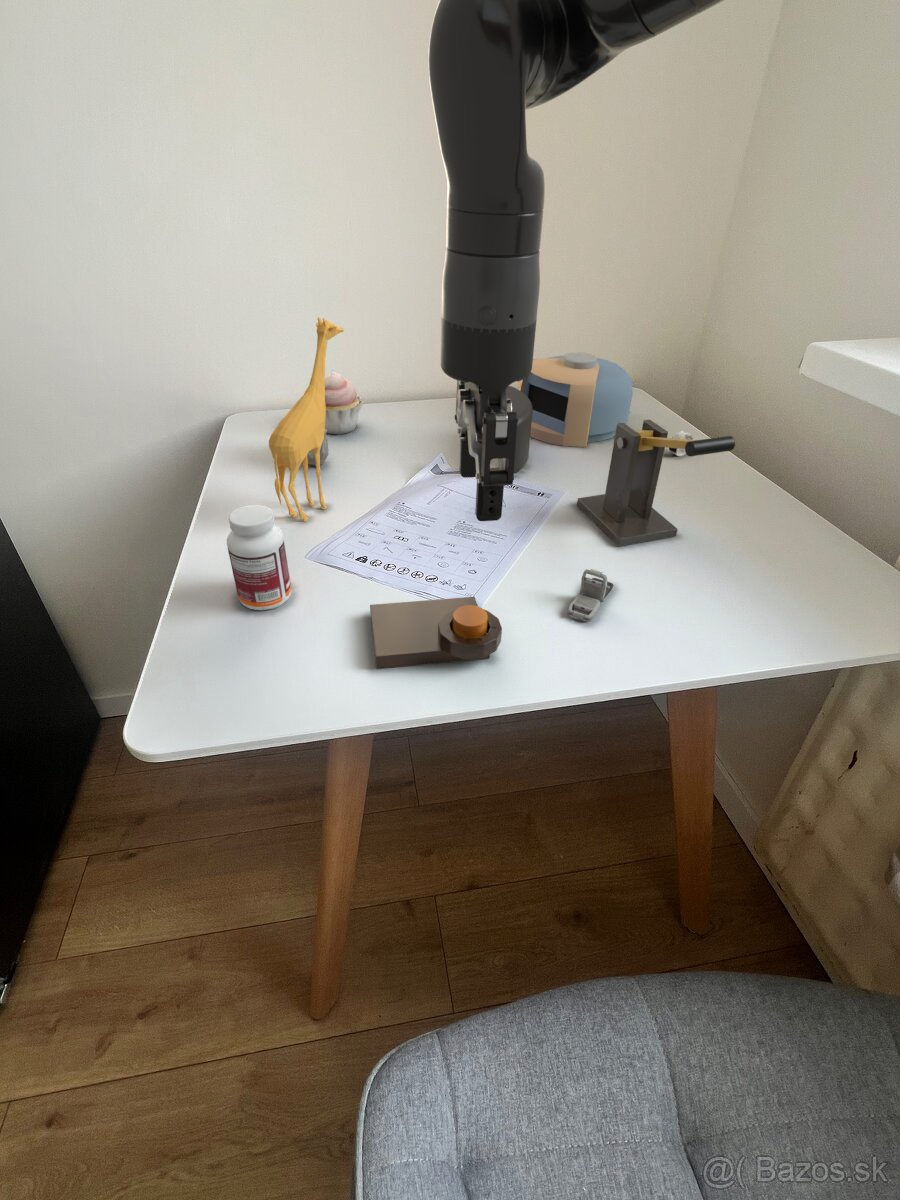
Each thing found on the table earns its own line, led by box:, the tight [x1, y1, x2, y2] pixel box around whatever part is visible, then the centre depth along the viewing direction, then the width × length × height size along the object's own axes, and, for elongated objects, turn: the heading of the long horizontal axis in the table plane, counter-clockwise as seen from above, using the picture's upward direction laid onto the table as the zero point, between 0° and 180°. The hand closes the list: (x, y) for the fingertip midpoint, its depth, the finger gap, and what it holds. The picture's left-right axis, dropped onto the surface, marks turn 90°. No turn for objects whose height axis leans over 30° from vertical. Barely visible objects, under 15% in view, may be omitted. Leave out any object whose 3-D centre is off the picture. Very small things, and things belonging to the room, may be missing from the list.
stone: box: [307, 428, 329, 467], centre depth 109 cm, size 9×7×10 cm
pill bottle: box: [226, 504, 292, 611], centre depth 79 cm, size 6×6×11 cm
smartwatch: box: [668, 430, 694, 457], centre depth 116 cm, size 4×2×4 cm, turn 116°
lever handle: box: [635, 429, 736, 457], centre depth 85 cm, size 16×6×2 cm, turn 20°
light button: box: [453, 605, 488, 639], centre depth 72 cm, size 4×4×2 cm
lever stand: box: [576, 419, 679, 547], centre depth 94 cm, size 12×9×14 cm
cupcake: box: [325, 370, 365, 435], centre depth 120 cm, size 9×9×10 cm
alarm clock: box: [517, 351, 633, 448], centre depth 123 cm, size 19×20×12 cm
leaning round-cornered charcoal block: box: [506, 385, 533, 475], centre depth 112 cm, size 16×5×9 cm, turn 1°
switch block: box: [369, 596, 503, 670], centre depth 75 cm, size 13×11×4 cm
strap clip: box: [567, 568, 614, 622], centre depth 81 cm, size 8×3×4 cm, turn 150°
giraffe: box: [268, 316, 345, 522], centre depth 93 cm, size 16×4×25 cm, turn 152°
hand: (479, 496), depth 64 cm, fingers open, 8 cm apart
